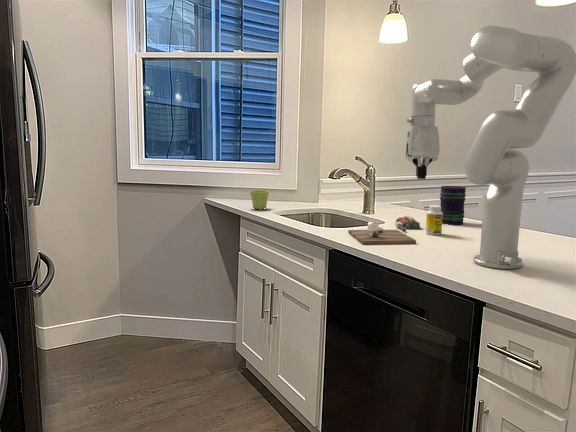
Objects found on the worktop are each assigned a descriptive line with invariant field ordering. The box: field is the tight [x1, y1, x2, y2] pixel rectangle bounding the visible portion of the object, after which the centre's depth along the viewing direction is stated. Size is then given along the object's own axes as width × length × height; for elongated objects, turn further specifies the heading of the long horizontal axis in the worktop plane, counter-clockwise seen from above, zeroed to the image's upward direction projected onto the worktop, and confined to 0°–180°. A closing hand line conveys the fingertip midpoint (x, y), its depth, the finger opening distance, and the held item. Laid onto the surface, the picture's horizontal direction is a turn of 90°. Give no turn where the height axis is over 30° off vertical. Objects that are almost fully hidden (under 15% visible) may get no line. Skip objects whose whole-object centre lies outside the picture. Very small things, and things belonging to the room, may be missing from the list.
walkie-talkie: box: [395, 215, 421, 232], centre depth 190 cm, size 9×4×20 cm
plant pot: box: [249, 189, 271, 210], centre depth 234 cm, size 9×9×9 cm
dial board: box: [347, 229, 417, 246], centre depth 169 cm, size 19×18×1 cm
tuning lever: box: [367, 221, 384, 237], centre depth 169 cm, size 14×4×4 cm, turn 157°
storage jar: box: [439, 185, 467, 226], centre depth 201 cm, size 10×10×15 cm
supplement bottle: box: [425, 205, 443, 236], centre depth 178 cm, size 6×6×10 cm
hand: (421, 178), depth 162 cm, fingers closed
